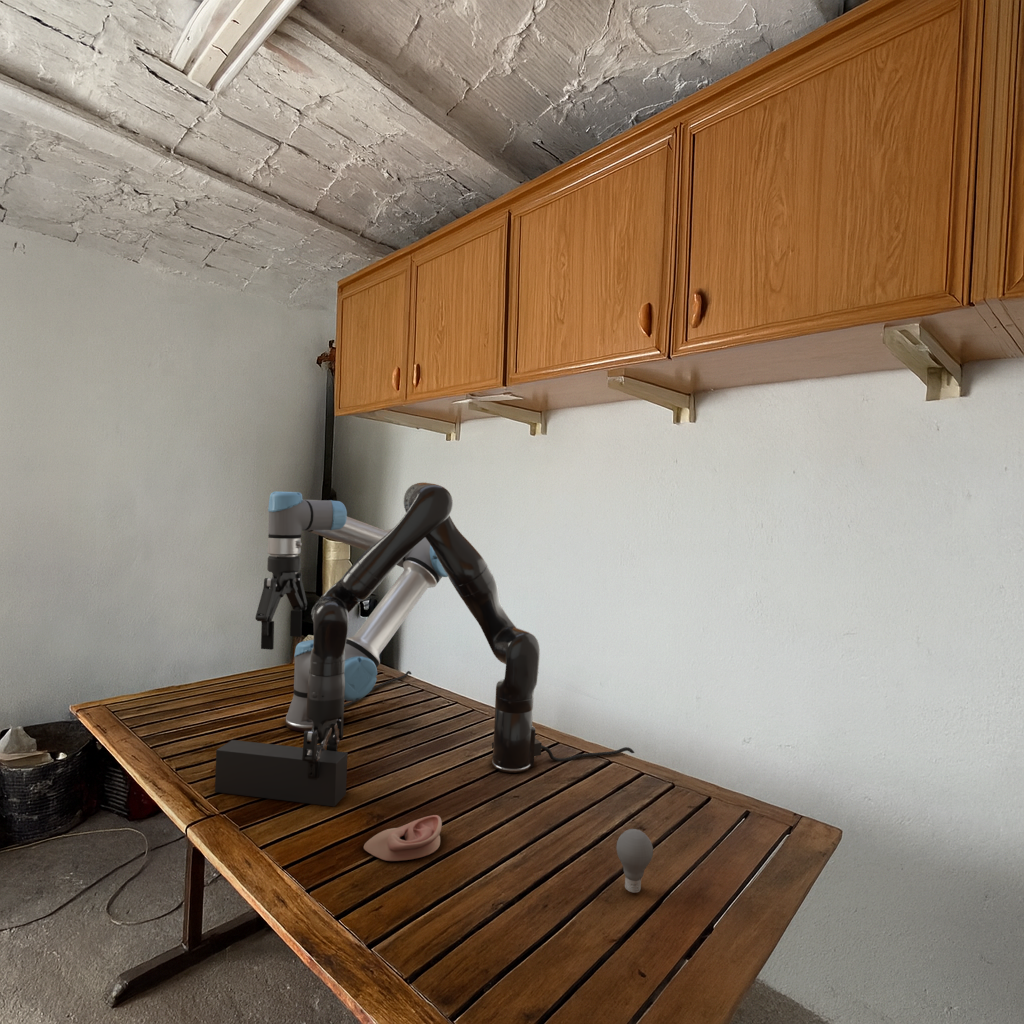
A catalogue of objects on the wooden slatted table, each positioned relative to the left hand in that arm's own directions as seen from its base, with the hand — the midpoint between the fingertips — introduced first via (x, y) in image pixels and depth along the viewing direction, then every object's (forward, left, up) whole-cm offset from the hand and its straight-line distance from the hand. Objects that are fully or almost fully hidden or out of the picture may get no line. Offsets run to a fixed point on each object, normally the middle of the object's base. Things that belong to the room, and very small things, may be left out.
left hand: (282, 642), depth 154 cm
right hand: (+6, +27, -21) cm, 35 cm away
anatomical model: (+7, +53, -27) cm, 60 cm away
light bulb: (-10, +91, -27) cm, 95 cm away
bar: (+10, +18, -27) cm, 35 cm away
